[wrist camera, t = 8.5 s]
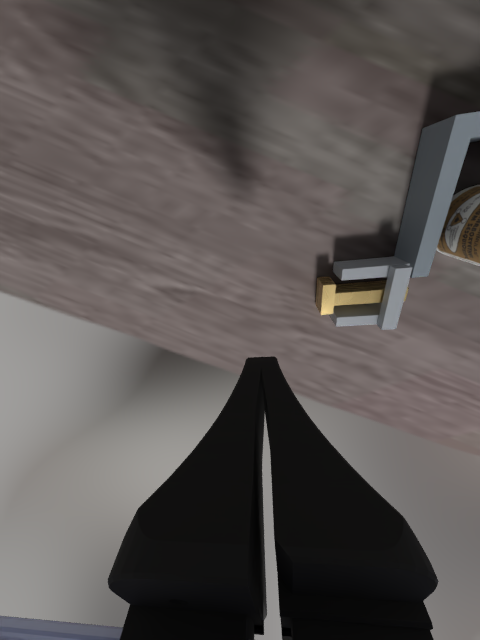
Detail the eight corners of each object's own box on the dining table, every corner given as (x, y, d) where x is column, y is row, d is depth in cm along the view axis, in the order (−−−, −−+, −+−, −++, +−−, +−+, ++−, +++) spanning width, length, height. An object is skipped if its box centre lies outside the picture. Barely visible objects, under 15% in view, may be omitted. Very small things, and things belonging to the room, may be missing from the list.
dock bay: (582, 104, 12) (665, 81, 10) (487, 304, 18) (524, 321, 15) (345, 139, 13) (365, 127, 11) (328, 314, 19) (339, 332, 17)
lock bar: (397, 270, 17) (411, 278, 15) (390, 299, 18) (402, 309, 16) (317, 277, 18) (323, 285, 16) (315, 304, 19) (320, 314, 17)
